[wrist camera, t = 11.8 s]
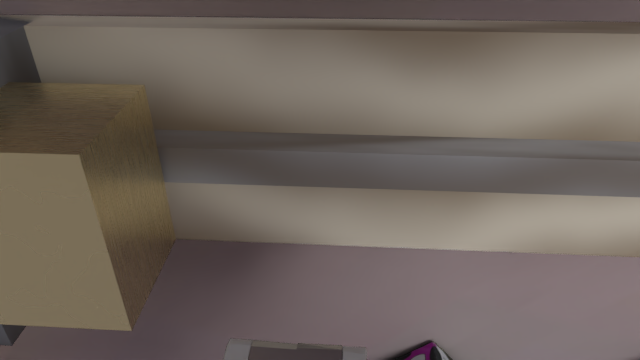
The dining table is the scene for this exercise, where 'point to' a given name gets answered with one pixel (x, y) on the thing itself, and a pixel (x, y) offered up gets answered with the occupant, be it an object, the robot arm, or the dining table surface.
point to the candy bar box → (427, 353)
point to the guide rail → (372, 126)
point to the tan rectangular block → (79, 205)
